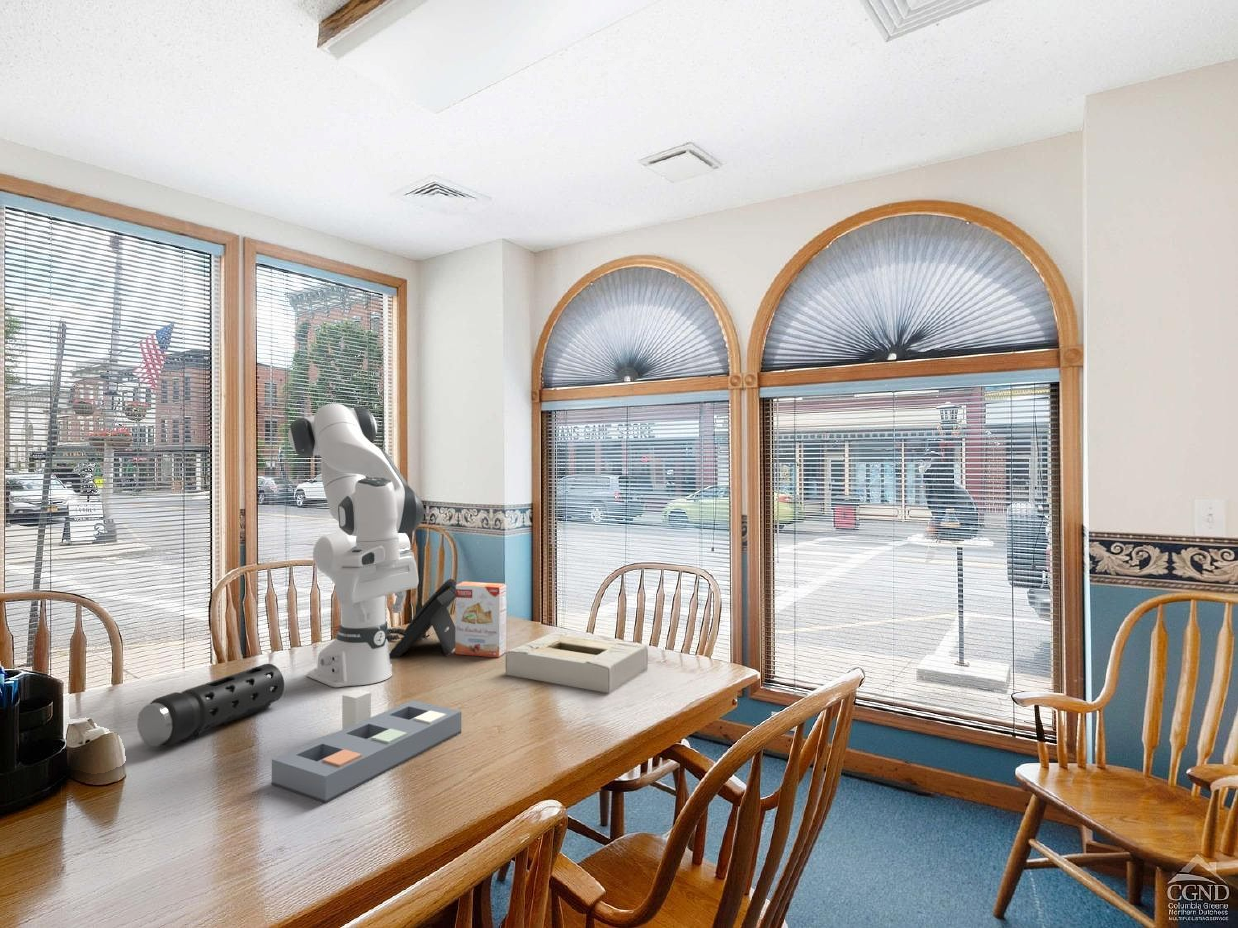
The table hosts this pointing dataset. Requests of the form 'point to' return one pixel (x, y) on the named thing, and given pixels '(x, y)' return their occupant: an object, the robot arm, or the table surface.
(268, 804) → the table surface
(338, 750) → the socket block
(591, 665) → the box
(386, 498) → the robot arm
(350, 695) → the plug
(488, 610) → the cracker box
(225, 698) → the muzzle brake
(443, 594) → the office phone
